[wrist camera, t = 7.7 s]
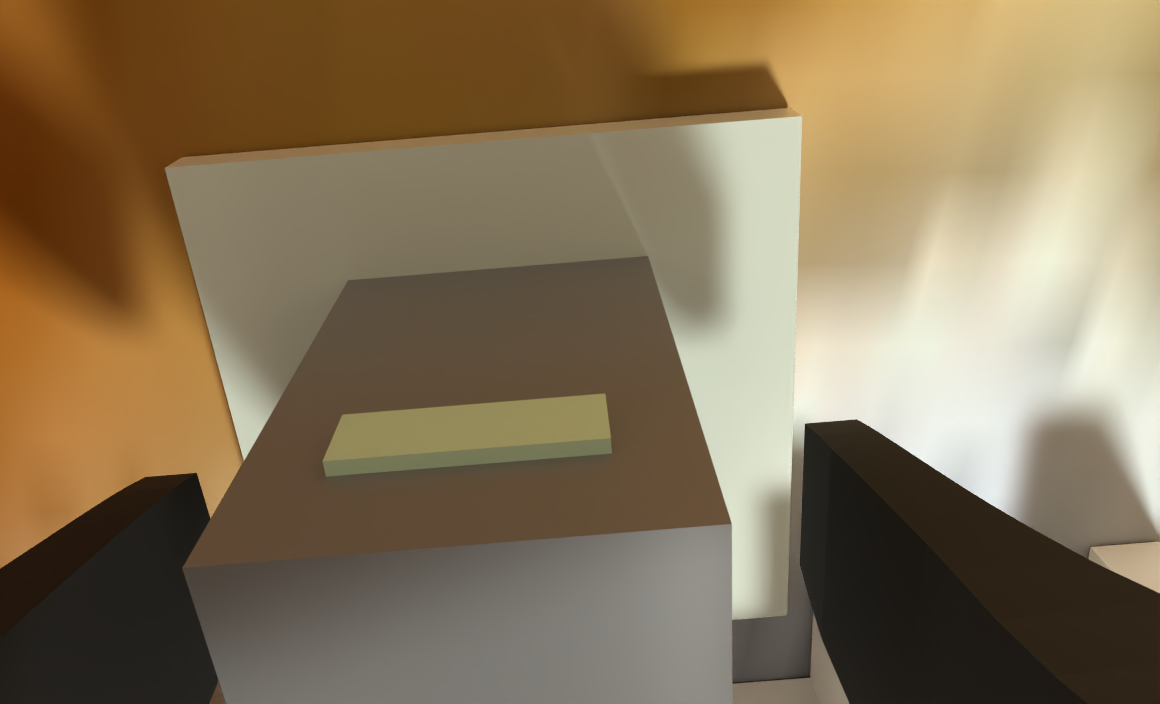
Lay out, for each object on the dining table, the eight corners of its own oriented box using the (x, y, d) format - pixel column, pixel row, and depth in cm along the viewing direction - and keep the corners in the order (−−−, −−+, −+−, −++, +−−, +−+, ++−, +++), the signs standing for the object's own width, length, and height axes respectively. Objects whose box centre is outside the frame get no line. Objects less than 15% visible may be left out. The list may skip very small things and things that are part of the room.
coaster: (778, 591, 15) (786, 615, 15) (305, 629, 15) (296, 655, 15) (790, 106, 12) (801, 116, 11) (182, 156, 12) (164, 167, 11)
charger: (666, 675, 15) (733, 1093, 10) (428, 694, 15) (361, 1121, 10) (647, 245, 12) (731, 506, 6) (345, 269, 12) (176, 552, 6)
